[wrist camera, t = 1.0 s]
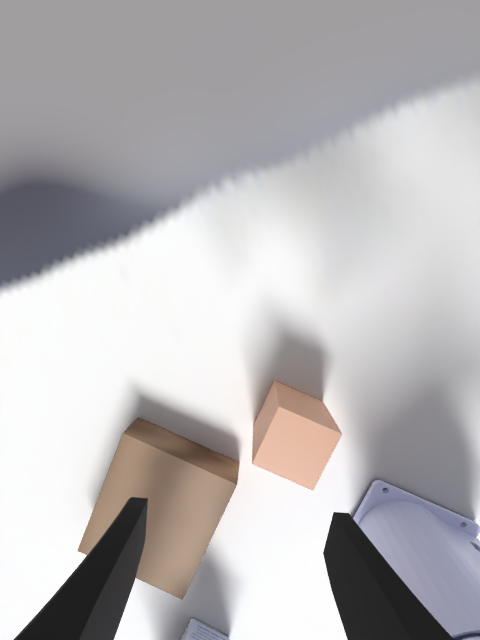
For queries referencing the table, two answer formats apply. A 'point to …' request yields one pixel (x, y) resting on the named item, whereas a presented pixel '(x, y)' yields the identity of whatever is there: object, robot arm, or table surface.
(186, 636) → the medicine box
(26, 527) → the table surface
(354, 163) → the table surface
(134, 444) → the walnut block
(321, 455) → the terracotta block
